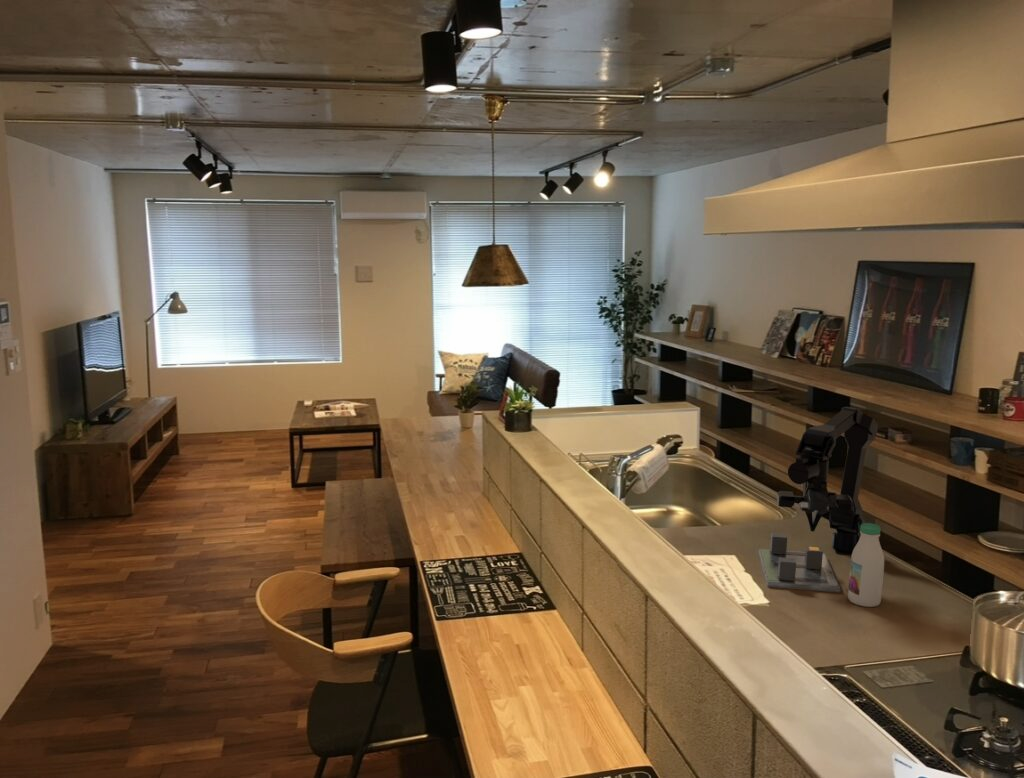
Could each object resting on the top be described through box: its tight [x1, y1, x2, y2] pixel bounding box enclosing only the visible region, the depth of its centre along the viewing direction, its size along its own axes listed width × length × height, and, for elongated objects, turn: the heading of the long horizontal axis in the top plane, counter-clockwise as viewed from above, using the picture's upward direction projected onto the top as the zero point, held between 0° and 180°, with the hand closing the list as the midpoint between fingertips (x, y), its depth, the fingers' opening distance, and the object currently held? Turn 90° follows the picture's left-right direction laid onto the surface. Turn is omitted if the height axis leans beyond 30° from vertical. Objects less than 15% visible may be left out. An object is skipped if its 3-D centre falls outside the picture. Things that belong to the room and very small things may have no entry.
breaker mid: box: [804, 546, 824, 569], centre depth 228 cm, size 4×3×5 cm
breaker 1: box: [769, 532, 788, 554], centre depth 238 cm, size 4×3×5 cm
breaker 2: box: [778, 557, 796, 581], centre depth 221 cm, size 4×3×5 cm
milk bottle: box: [847, 522, 885, 608], centre depth 209 cm, size 8×8×20 cm
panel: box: [758, 548, 841, 593], centre depth 229 cm, size 18×23×2 cm
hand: (812, 531), depth 227 cm, fingers closed
